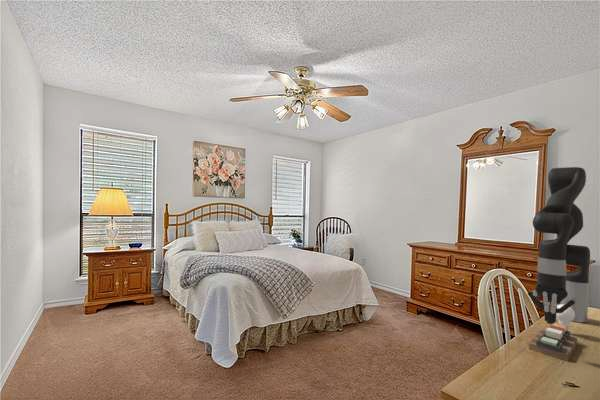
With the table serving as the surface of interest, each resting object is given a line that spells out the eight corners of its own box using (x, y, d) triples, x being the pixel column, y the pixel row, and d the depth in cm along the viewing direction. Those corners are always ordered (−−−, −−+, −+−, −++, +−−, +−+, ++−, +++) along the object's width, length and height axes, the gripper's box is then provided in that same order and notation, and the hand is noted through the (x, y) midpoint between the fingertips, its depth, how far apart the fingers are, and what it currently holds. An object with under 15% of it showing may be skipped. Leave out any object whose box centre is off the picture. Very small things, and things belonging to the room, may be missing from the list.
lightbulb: (575, 337, 116) (576, 308, 116) (553, 332, 120) (554, 304, 120) (573, 332, 121) (574, 304, 121) (552, 327, 125) (553, 301, 125)
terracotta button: (552, 327, 116) (552, 322, 116) (566, 331, 113) (566, 325, 113) (550, 330, 113) (550, 324, 113) (564, 334, 110) (564, 328, 110)
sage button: (543, 342, 105) (543, 336, 105) (558, 346, 102) (558, 340, 102) (540, 345, 102) (540, 339, 102) (555, 350, 99) (556, 343, 99)
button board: (542, 333, 118) (543, 324, 118) (577, 343, 111) (577, 333, 111) (528, 349, 104) (529, 339, 104) (567, 361, 96) (567, 350, 96)
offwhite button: (548, 332, 110) (548, 327, 110) (562, 336, 107) (562, 331, 107) (545, 335, 108) (545, 329, 108) (560, 339, 105) (560, 333, 105)
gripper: (579, 274, 100) (578, 327, 100) (530, 267, 110) (528, 315, 110) (576, 277, 95) (574, 332, 95) (524, 269, 105) (523, 319, 105)
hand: (550, 323), depth 102 cm, fingers closed
